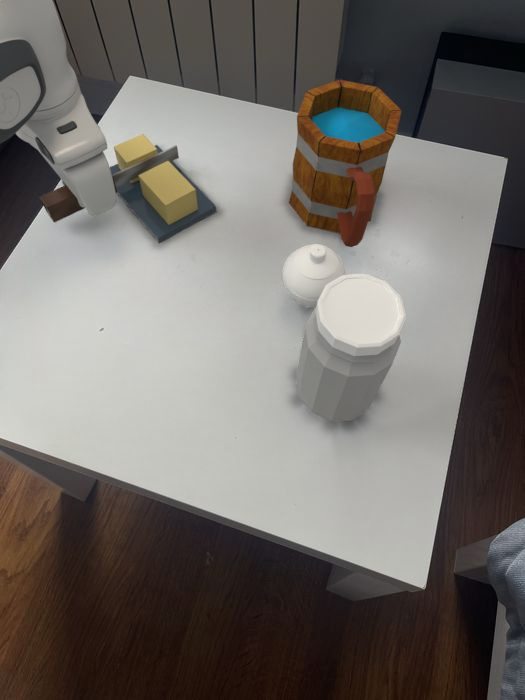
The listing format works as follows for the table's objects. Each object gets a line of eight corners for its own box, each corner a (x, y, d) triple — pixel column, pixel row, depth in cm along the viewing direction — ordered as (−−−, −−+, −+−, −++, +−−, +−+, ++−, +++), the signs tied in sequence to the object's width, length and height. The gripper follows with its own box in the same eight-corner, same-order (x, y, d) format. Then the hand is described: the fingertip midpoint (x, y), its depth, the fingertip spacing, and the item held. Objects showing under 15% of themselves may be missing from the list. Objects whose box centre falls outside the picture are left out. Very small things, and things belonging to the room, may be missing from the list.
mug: (282, 170, 84) (288, 82, 71) (367, 164, 85) (389, 76, 72) (302, 271, 74) (314, 192, 61) (397, 263, 75) (428, 183, 62)
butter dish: (159, 243, 76) (157, 237, 75) (102, 177, 82) (100, 171, 81) (216, 211, 79) (216, 206, 78) (158, 150, 85) (156, 144, 84)
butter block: (169, 225, 76) (165, 205, 73) (142, 195, 79) (138, 175, 75) (198, 209, 78) (195, 189, 74) (171, 181, 80) (168, 160, 77)
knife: (54, 222, 75) (46, 207, 72) (46, 212, 76) (39, 196, 73) (182, 161, 81) (180, 145, 78) (174, 152, 82) (171, 136, 79)
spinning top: (269, 295, 72) (273, 235, 62) (320, 276, 74) (332, 216, 64) (294, 340, 69) (303, 286, 59) (346, 320, 71) (364, 263, 60)
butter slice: (131, 183, 80) (126, 162, 76) (118, 167, 81) (113, 146, 78) (161, 170, 81) (157, 148, 78) (147, 154, 83) (143, 133, 79)
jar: (278, 391, 66) (288, 312, 50) (326, 339, 69) (349, 249, 53) (343, 441, 63) (375, 374, 47) (389, 384, 66) (433, 303, 51)
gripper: (-17, 73, 66) (24, 161, 78) (62, 169, 59) (94, 250, 71) (31, 54, 68) (63, 144, 80) (113, 145, 60) (135, 228, 73)
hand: (78, 194), depth 75 cm, fingers closed on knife, 2 cm apart
